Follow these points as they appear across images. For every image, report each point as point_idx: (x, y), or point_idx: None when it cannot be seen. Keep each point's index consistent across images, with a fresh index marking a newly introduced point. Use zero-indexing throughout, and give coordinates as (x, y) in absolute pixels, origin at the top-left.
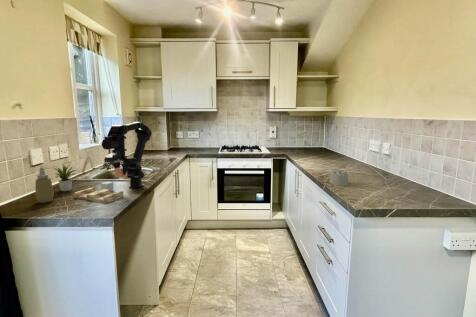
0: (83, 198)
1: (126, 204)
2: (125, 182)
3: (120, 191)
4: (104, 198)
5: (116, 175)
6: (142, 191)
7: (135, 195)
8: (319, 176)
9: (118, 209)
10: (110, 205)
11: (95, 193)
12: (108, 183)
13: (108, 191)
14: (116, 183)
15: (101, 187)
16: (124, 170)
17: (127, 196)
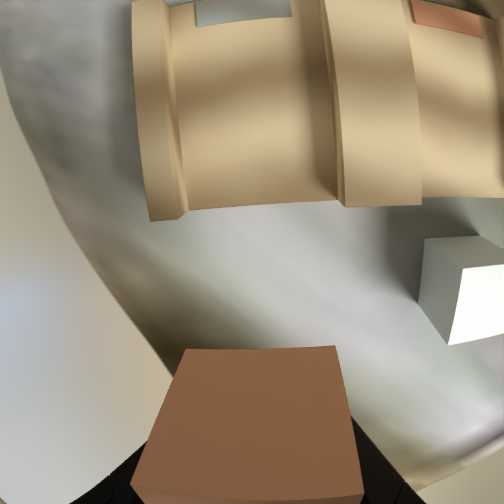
0: (422, 3)
1: (18, 103)
2: (450, 440)
3: (173, 206)
4: (147, 2)
5: (303, 366)
6: (172, 373)
7: (121, 280)
8: (3, 501)
9: (5, 33)
10: (82, 21)
11: (355, 27)
12: (464, 299)
13: (341, 175)
14: (489, 406)
15: (498, 247)
16: (120, 470)
17: (148, 230)
